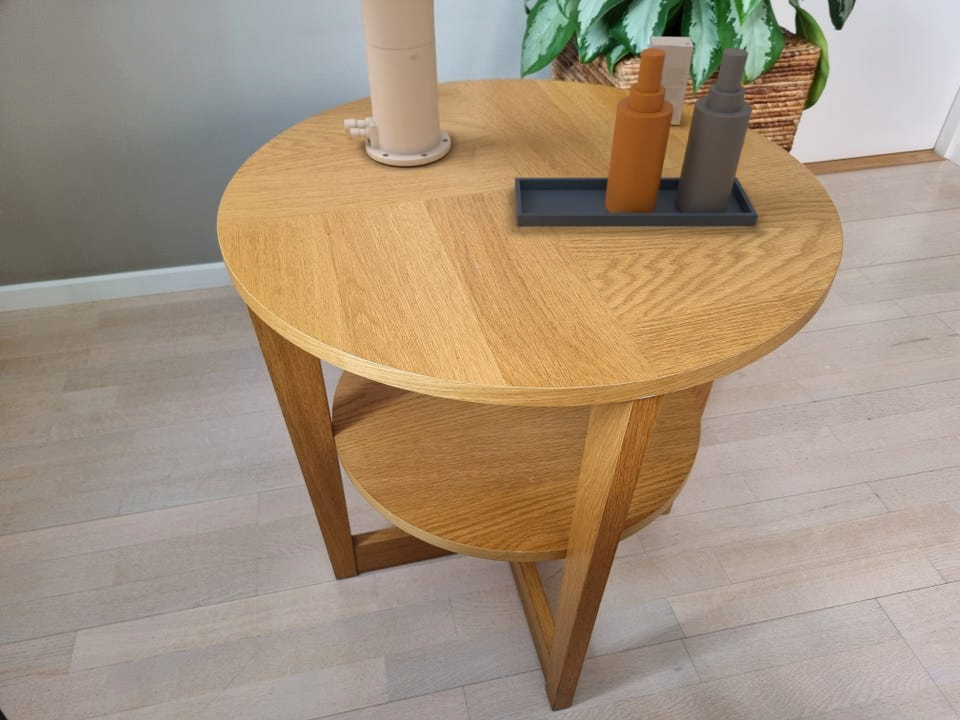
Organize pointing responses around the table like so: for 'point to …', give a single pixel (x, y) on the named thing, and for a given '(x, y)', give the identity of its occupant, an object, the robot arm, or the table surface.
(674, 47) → the cosmetic box
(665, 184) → the tray
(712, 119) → the grey bottle
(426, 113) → the robot arm
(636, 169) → the amber bottle
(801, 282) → the table surface
